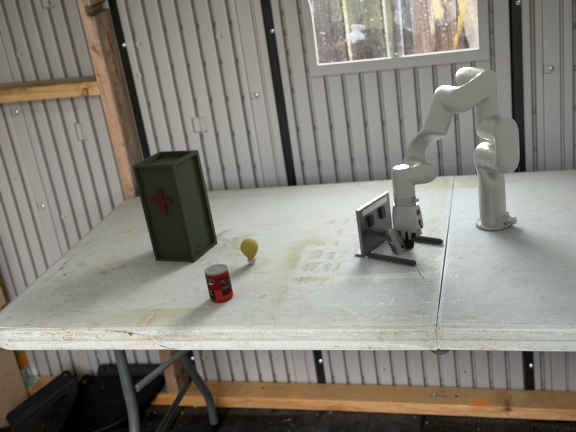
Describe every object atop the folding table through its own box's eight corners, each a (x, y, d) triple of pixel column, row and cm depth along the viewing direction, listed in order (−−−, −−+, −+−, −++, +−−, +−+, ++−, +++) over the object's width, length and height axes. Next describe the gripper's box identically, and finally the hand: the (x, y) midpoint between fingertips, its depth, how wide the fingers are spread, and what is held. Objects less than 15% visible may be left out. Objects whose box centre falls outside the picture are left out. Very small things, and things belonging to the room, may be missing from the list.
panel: (395, 236, 250) (390, 191, 244) (366, 257, 236) (360, 211, 230) (384, 234, 253) (379, 190, 247) (354, 255, 240) (348, 209, 233)
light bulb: (263, 259, 249) (259, 235, 245) (257, 267, 243) (252, 242, 240) (247, 259, 251) (242, 235, 248) (240, 267, 245) (236, 242, 242)
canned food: (210, 294, 228) (204, 266, 224) (233, 290, 228) (227, 262, 224) (210, 305, 221) (203, 275, 217) (233, 300, 221) (227, 271, 217)
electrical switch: (400, 255, 233) (393, 230, 231) (388, 255, 237) (381, 231, 235) (414, 245, 239) (407, 221, 237) (402, 245, 243) (395, 222, 241)
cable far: (444, 243, 237) (443, 238, 237) (441, 245, 236) (441, 240, 235) (396, 235, 250) (395, 231, 250) (393, 237, 249) (393, 233, 248)
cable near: (417, 265, 224) (417, 259, 224) (414, 267, 223) (414, 262, 222) (368, 256, 237) (368, 250, 237) (365, 258, 236) (365, 253, 235)
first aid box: (217, 243, 272) (198, 150, 258) (194, 262, 257) (172, 164, 243) (180, 241, 280) (159, 151, 266) (155, 260, 265) (132, 165, 251)
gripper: (429, 198, 226) (433, 247, 233) (392, 194, 236) (397, 241, 242) (418, 206, 221) (423, 255, 228) (380, 201, 231) (386, 249, 237)
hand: (409, 248), depth 235 cm, fingers closed
